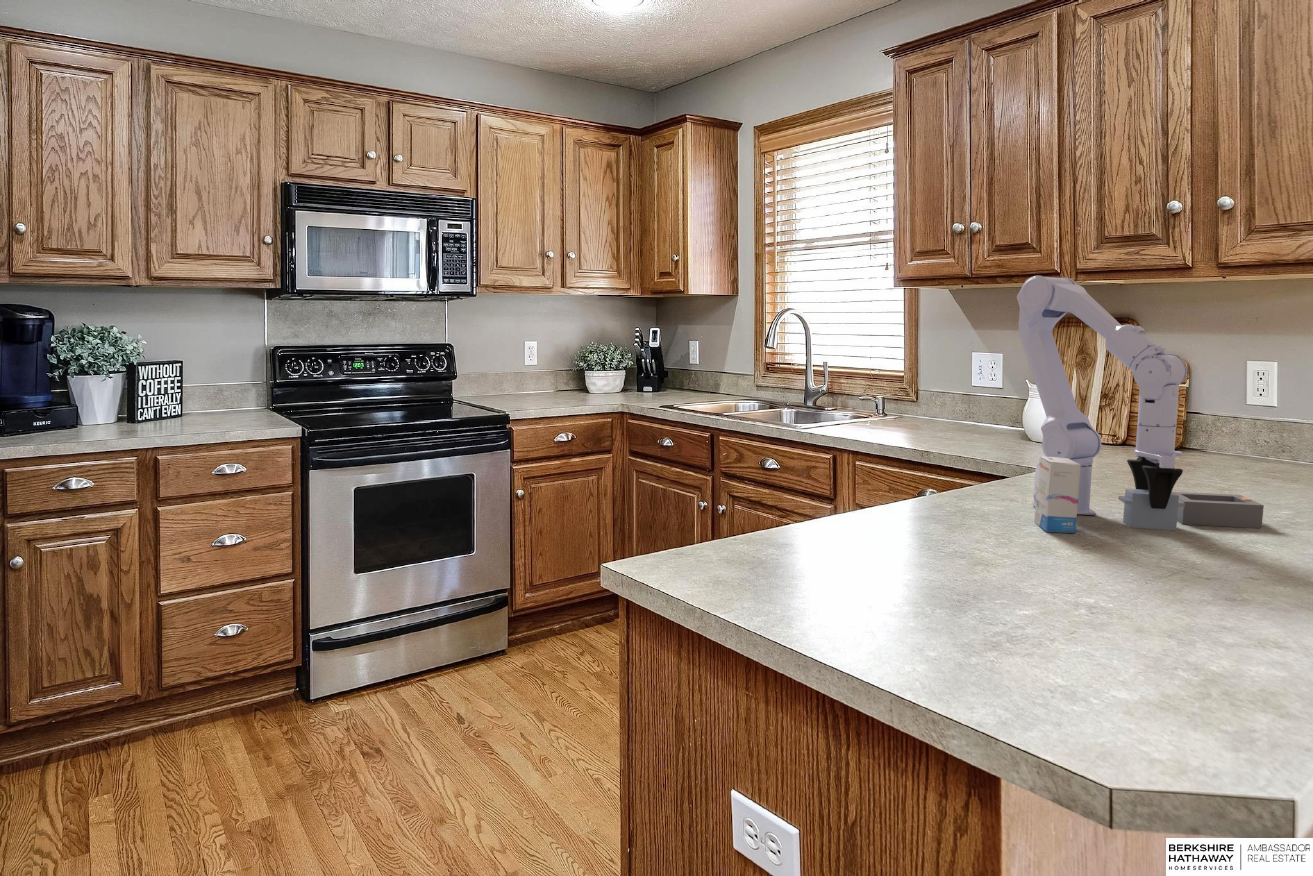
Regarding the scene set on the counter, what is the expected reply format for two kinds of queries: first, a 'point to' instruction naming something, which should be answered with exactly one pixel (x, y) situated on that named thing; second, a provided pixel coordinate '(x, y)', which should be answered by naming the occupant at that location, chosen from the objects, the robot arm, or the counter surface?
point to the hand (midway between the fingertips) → (1151, 504)
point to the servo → (1149, 511)
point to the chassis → (1219, 510)
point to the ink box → (1057, 494)
